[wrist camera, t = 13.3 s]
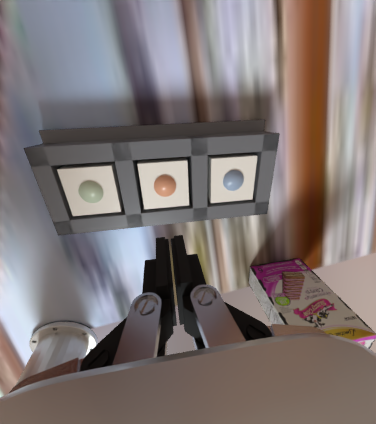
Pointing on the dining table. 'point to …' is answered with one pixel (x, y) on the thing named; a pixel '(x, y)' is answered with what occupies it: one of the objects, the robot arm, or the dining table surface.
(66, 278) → the dining table surface
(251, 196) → the key slate
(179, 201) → the key terracotta
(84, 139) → the grey button panel
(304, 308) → the candy bar box
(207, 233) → the dining table surface
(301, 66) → the dining table surface
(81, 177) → the key sage
